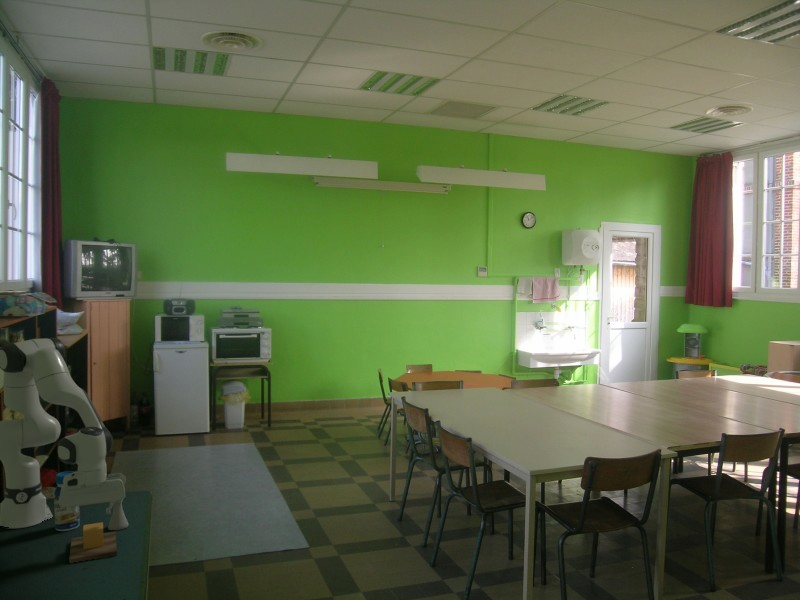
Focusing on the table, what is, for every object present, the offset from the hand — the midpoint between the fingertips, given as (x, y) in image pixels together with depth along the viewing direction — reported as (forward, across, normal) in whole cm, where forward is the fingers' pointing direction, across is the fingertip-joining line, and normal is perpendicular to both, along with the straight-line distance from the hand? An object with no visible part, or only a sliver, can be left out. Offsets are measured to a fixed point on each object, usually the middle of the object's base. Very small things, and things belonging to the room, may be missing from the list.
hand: (93, 516), depth 219 cm
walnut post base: (+11, 0, +1) cm, 11 cm away
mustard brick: (+10, 0, 0) cm, 10 cm away
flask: (+12, -8, -16) cm, 22 cm away
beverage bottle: (+12, +9, -24) cm, 28 cm away
